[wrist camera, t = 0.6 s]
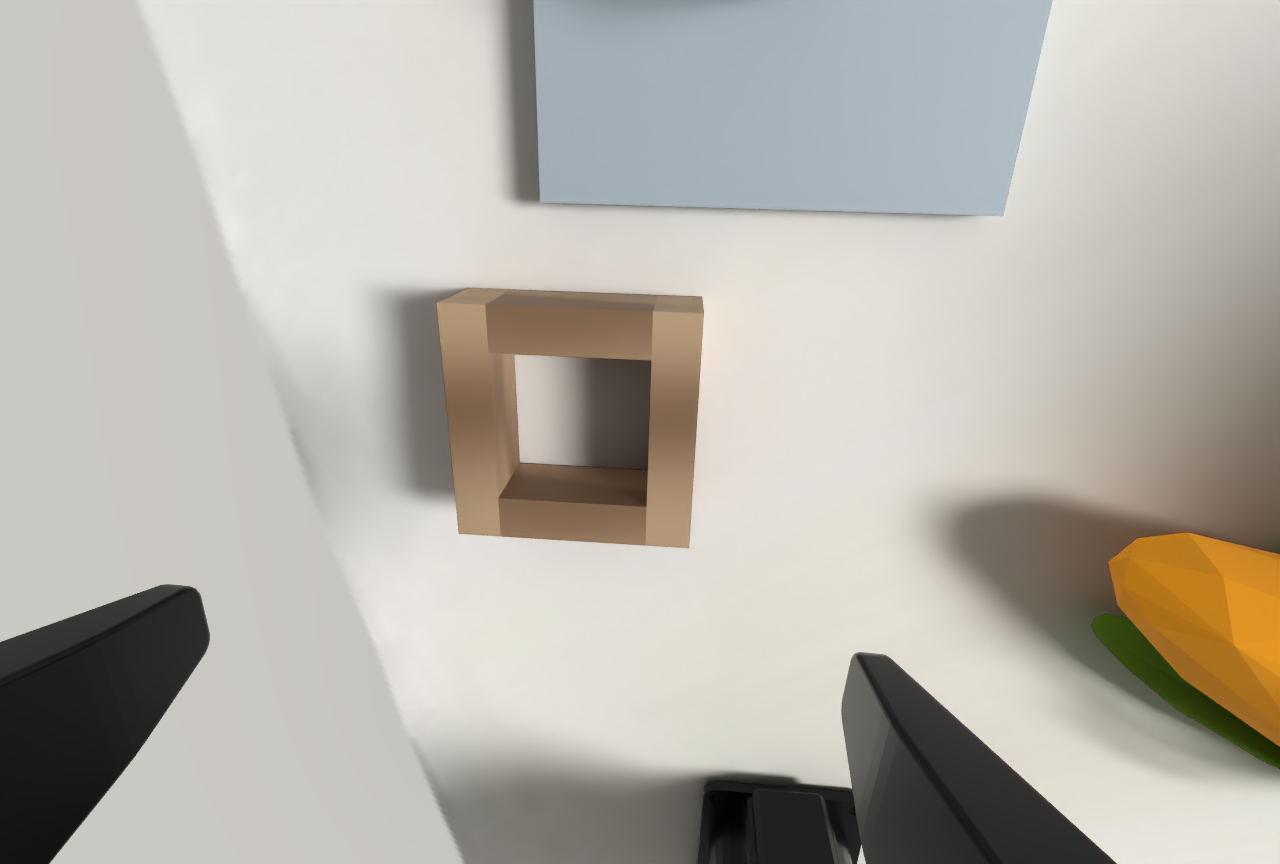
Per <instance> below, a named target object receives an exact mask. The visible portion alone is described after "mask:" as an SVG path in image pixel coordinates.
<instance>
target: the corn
mask: <svg viewBox="0 0 1280 864" xmlns="http://www.w3.org/2000/svg"><path fill="white" fill-rule="evenodd" d="M1108 564H1109V568H1110V573H1111V577H1112V582H1113V587H1114V591H1115V596H1116V601H1117V605H1118V607H1119V608H1120V609H1121V610H1122V611H1123V612H1124V614H1125V615H1126V616H1127V617H1128V618H1129V619H1127V618H1124V617H1120V616H1115V615H1110V614H1104V615H1101V616H1098V617H1095V618H1094V621H1093V623H1092V625H1091V626H1092V628H1093V630H1094V633H1095V635H1096V636H1097V638H1098V639H1099V640H1100V641H1101V642H1102V643H1103V644H1104V645H1105V646H1106V647H1107V648H1108V650H1109V651H1110V652H1111V653H1112V654H1113V655H1115V656H1116V657H1117V658H1118V659H1119V660H1120V661H1121V662H1122V663H1123V664H1124V665H1125V666H1126V667H1127V668H1128V669H1129V670H1130V671H1131V672H1132V673H1133V674H1135V675H1136V676H1137V677H1138V678H1139V679H1141V680H1142V681H1143V682H1144V683H1145V684H1147V685H1148V686H1149V687H1150V688H1151V689H1153V690H1154V691H1155V692H1156V693H1157V694H1159V695H1160V696H1161V697H1162V698H1163V699H1165V700H1166V701H1167V702H1168V703H1169V704H1171V705H1172V706H1173V707H1174V708H1176V709H1177V710H1179V711H1181V712H1182V713H1184V714H1186V715H1187V716H1189V717H1191V718H1192V719H1194V720H1196V721H1197V722H1199V723H1201V724H1202V725H1204V726H1206V727H1207V728H1209V729H1211V730H1212V731H1214V732H1216V733H1217V734H1219V735H1221V736H1222V737H1224V738H1225V739H1227V740H1229V741H1230V742H1232V743H1234V744H1235V745H1237V746H1239V747H1240V748H1242V749H1244V750H1245V751H1247V752H1249V753H1250V754H1252V755H1254V756H1255V757H1257V758H1259V759H1260V760H1263V761H1265V762H1267V763H1269V764H1271V765H1273V766H1275V767H1277V768H1279V769H1280V554H1277V553H1272V552H1268V551H1264V550H1260V549H1256V548H1251V547H1247V546H1243V545H1239V544H1235V543H1230V542H1226V541H1222V540H1218V539H1214V538H1209V537H1205V536H1201V535H1197V534H1193V533H1188V532H1186V533H1177V534H1168V535H1160V536H1151V537H1143V538H1137V539H1136V540H1134V541H1133V542H1132V543H1131V544H1130V545H1128V546H1127V547H1126V548H1125V549H1123V550H1122V551H1121V552H1120V553H1118V554H1117V555H1116V556H1115V557H1114V558H1112V559H1111V560H1110V561H1109V562H1108Z"/></svg>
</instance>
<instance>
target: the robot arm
mask: <svg viewBox="0 0 1280 864" xmlns="http://www.w3.org/2000/svg"><path fill="white" fill-rule="evenodd" d="M209 641H210V632H209V628H208V624H207V620H206V615H205V611H204V607H203V603H202V599H201V595H200V593H199V592H198V591H197V590H196V589H195V588H193V587H190V586H181V585H169V584H167V585H160V586H157V587H154V588H151V589H149V590H146V591H143V592H140V593H137V594H134V595H132V596H129V597H126V598H123V599H120V600H118V601H115V602H112V603H109V604H107V605H103V606H101V607H98V608H95V609H92V610H89V611H87V612H84V613H81V614H78V615H75V616H72V617H70V618H67V619H64V620H62V621H58V622H56V623H53V624H50V625H47V626H45V627H41V628H39V629H36V630H33V631H30V632H28V633H25V634H22V635H19V636H16V637H13V638H11V639H8V640H5V641H2V642H0V864H49V863H50V862H51V861H52V860H53V858H54V857H55V856H56V855H57V853H58V852H59V851H60V850H61V849H62V847H63V846H64V845H65V843H66V842H67V841H68V840H69V839H70V837H71V836H72V835H73V834H74V832H75V831H76V830H77V829H78V827H79V826H80V825H81V824H82V822H83V821H84V820H85V819H86V817H87V816H88V815H89V814H90V812H91V811H92V810H93V809H94V808H95V806H96V805H97V804H98V803H99V801H100V800H101V799H102V798H103V796H104V795H105V794H106V793H107V791H108V790H109V789H110V788H111V786H112V785H113V784H114V783H115V781H116V780H117V779H118V778H119V776H120V775H121V774H122V772H123V771H124V770H125V768H126V767H127V766H128V765H129V764H130V762H131V761H132V760H133V758H134V757H135V756H136V754H137V753H138V751H139V750H140V749H141V747H142V746H143V744H144V743H145V741H146V740H147V739H148V737H149V736H150V734H151V733H152V731H153V729H154V728H155V727H156V725H157V724H158V722H159V721H160V720H161V718H162V716H163V715H164V714H165V712H166V711H167V709H168V708H169V706H170V705H171V703H172V702H173V700H174V699H175V697H176V696H177V694H178V693H179V691H180V690H181V688H182V687H183V685H184V684H185V682H186V681H187V680H188V678H189V677H190V675H191V674H192V672H193V671H194V669H195V668H196V666H197V665H198V663H199V662H200V660H201V659H202V657H203V656H204V654H205V652H206V650H207V648H208V645H209ZM841 712H842V723H843V730H844V736H845V743H846V750H847V756H848V763H849V770H850V776H851V783H852V789H853V793H850V792H839V791H827V790H815V789H804V788H792V787H780V786H769V785H757V784H745V783H733V782H722V781H711V782H708V783H707V784H705V785H704V788H703V795H702V806H701V818H700V829H699V841H698V852H697V864H857V861H858V856H859V852H860V848H861V844H862V848H863V852H864V857H865V861H866V864H1117V863H1116V862H1115V861H1113V860H1112V859H1111V858H1110V857H1109V856H1108V855H1107V854H1106V853H1105V852H1104V851H1102V850H1101V849H1100V848H1099V847H1098V846H1097V845H1096V844H1095V843H1094V842H1092V841H1091V840H1090V839H1089V838H1088V837H1087V836H1086V835H1085V834H1084V833H1083V832H1081V831H1080V830H1079V829H1078V828H1077V827H1076V826H1075V825H1074V824H1073V823H1072V822H1070V821H1069V820H1068V819H1067V818H1066V817H1065V816H1064V815H1063V814H1062V813H1061V812H1059V811H1058V810H1057V809H1056V808H1055V807H1054V806H1053V805H1052V804H1051V803H1050V802H1048V801H1047V800H1046V799H1045V798H1044V797H1043V796H1042V795H1041V794H1040V793H1038V792H1037V791H1036V790H1035V789H1034V788H1033V787H1032V786H1031V785H1030V784H1029V783H1027V782H1026V781H1025V780H1024V779H1023V778H1022V777H1021V776H1020V775H1019V774H1018V773H1016V772H1015V771H1014V770H1013V769H1012V768H1011V767H1010V766H1009V765H1008V764H1007V763H1005V762H1004V761H1003V760H1002V759H1001V758H1000V757H999V756H998V755H997V754H996V753H994V752H993V751H992V750H991V749H990V748H989V747H988V746H987V745H986V744H984V743H983V742H982V741H981V740H980V739H979V738H978V737H977V736H976V735H975V734H973V733H972V732H971V731H970V730H969V729H968V728H967V727H966V726H965V725H964V724H962V723H961V722H960V721H959V720H958V719H957V718H956V717H955V716H954V715H953V714H951V713H950V712H949V711H948V710H947V709H946V708H945V707H944V706H943V705H942V704H940V703H939V702H938V701H937V700H936V699H935V698H934V697H933V696H932V695H931V694H929V693H928V692H927V691H926V690H925V689H924V688H923V687H922V686H921V685H919V684H918V683H917V682H916V681H915V680H914V679H913V678H912V677H911V676H910V675H908V674H907V673H906V672H905V671H904V670H903V669H902V668H901V667H900V666H899V665H897V664H896V663H895V662H894V661H893V660H892V659H891V658H889V657H888V656H886V655H883V654H874V653H864V652H857V653H856V654H854V655H853V657H852V659H851V662H850V666H849V671H848V676H847V680H846V685H845V689H844V694H843V699H842V710H841Z"/></svg>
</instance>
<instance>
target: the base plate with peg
mask: <svg viewBox="0 0 1280 864" xmlns="http://www.w3.org/2000/svg"><path fill="white" fill-rule="evenodd" d="M1051 4H1052V0H533V6H534V37H535V68H536V98H537V129H538V159H539V190H540V203H574V204H608V205H642V206H677V207H711V208H745V209H780V210H814V211H848V212H882V213H917V214H951V215H985V216H1003V214H1004V210H1005V206H1006V201H1007V197H1008V193H1009V188H1010V184H1011V179H1012V175H1013V171H1014V166H1015V162H1016V158H1017V153H1018V149H1019V144H1020V140H1021V136H1022V131H1023V127H1024V123H1025V118H1026V114H1027V109H1028V105H1029V101H1030V96H1031V92H1032V88H1033V83H1034V79H1035V74H1036V70H1037V66H1038V61H1039V57H1040V53H1041V48H1042V44H1043V39H1044V35H1045V31H1046V26H1047V22H1048V18H1049V13H1050V9H1051Z"/></svg>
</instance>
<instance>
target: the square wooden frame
mask: <svg viewBox="0 0 1280 864" xmlns="http://www.w3.org/2000/svg"><path fill="white" fill-rule="evenodd" d="M437 312H438V323H439V333H440V344H441V354H442V364H443V375H444V385H445V396H446V406H447V417H448V427H449V437H450V448H451V458H452V469H453V479H454V489H455V500H456V510H457V521H458V531H459V534H471V535H487V536H503V537H519V538H535V539H551V540H567V541H583V542H598V543H614V544H630V545H646V546H662V547H678V548H689V540H690V525H691V509H692V493H693V477H694V461H695V445H696V429H697V414H698V398H699V382H700V366H701V350H702V334H703V318H704V310H703V300H702V297H695V296H668V295H642V294H616V293H589V292H563V291H537V290H510V289H484V288H467V289H465V290H463V291H460V292H458V293H456V294H454V295H452V296H450V297H448V298H446V299H443V300H441V301H439V302H437ZM514 354H519V355H542V356H564V357H587V358H609V359H632V360H651V391H650V422H649V452H648V470H635V469H617V468H599V467H581V466H563V465H545V464H527V463H520V459H519V440H518V420H517V401H516V382H515V362H514Z"/></svg>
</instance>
